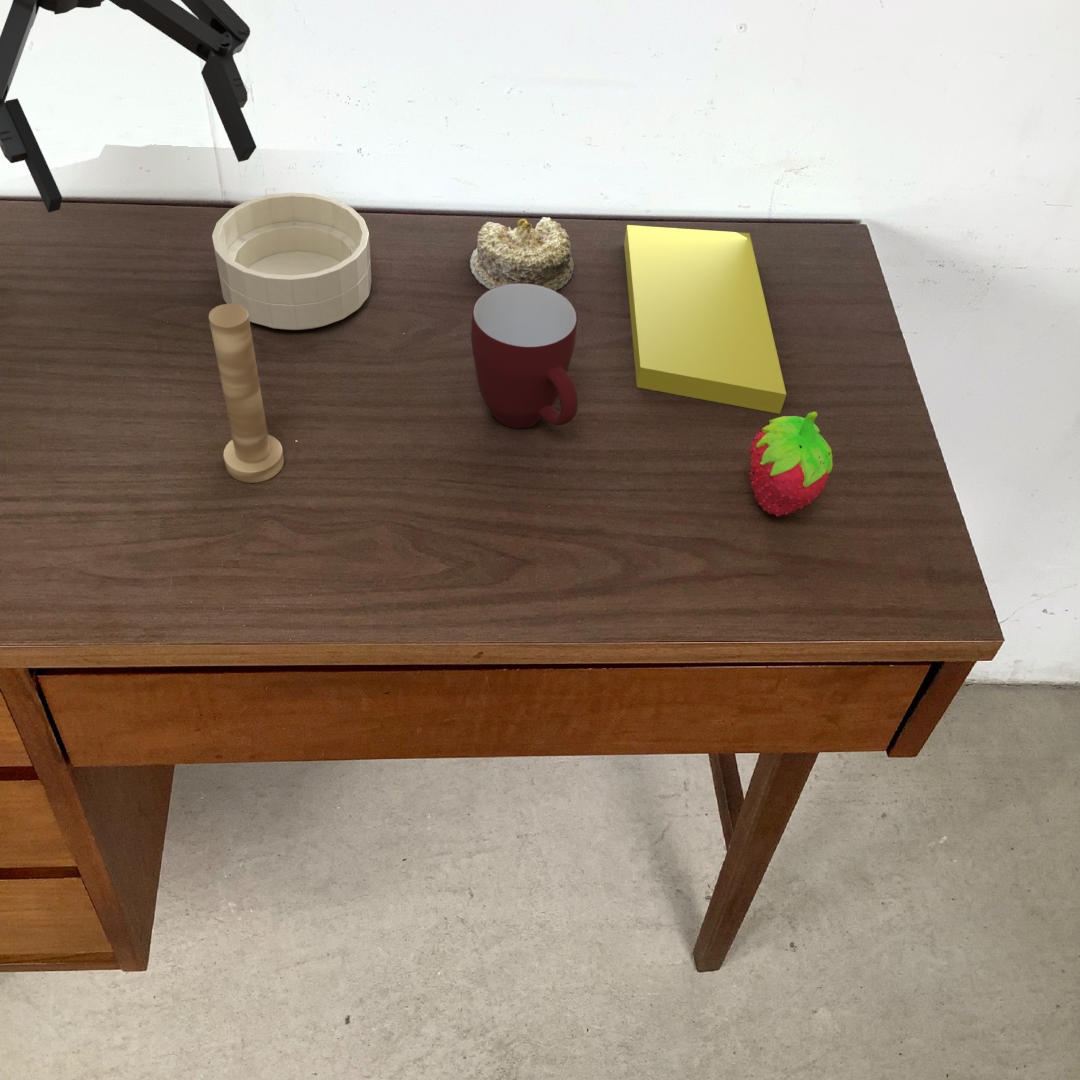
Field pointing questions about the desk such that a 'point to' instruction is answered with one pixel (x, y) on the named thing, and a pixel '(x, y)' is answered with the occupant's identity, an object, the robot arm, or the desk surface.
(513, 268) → the cake
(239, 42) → the robot arm
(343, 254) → the bowl
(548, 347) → the mug
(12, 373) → the desk surface
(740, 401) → the yellow flat board
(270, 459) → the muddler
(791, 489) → the strawberry
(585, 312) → the desk surface
